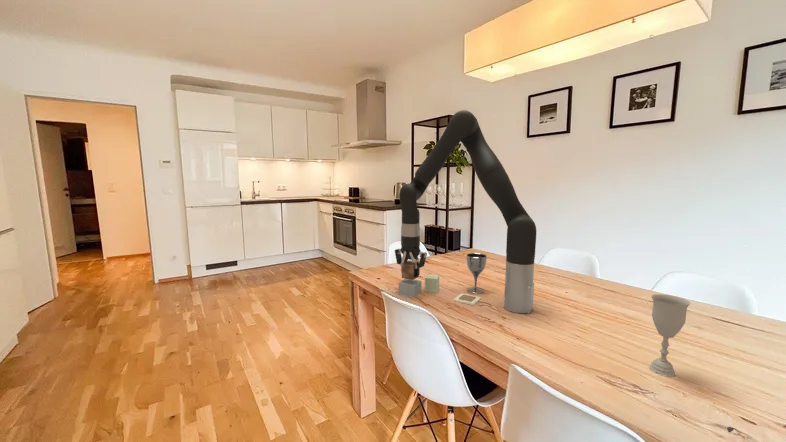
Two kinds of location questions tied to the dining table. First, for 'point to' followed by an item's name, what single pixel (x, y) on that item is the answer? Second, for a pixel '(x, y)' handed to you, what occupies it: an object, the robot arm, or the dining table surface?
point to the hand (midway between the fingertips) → (410, 275)
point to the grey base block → (409, 287)
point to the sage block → (432, 283)
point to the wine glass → (476, 268)
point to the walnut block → (408, 270)
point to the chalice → (667, 326)
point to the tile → (467, 299)
